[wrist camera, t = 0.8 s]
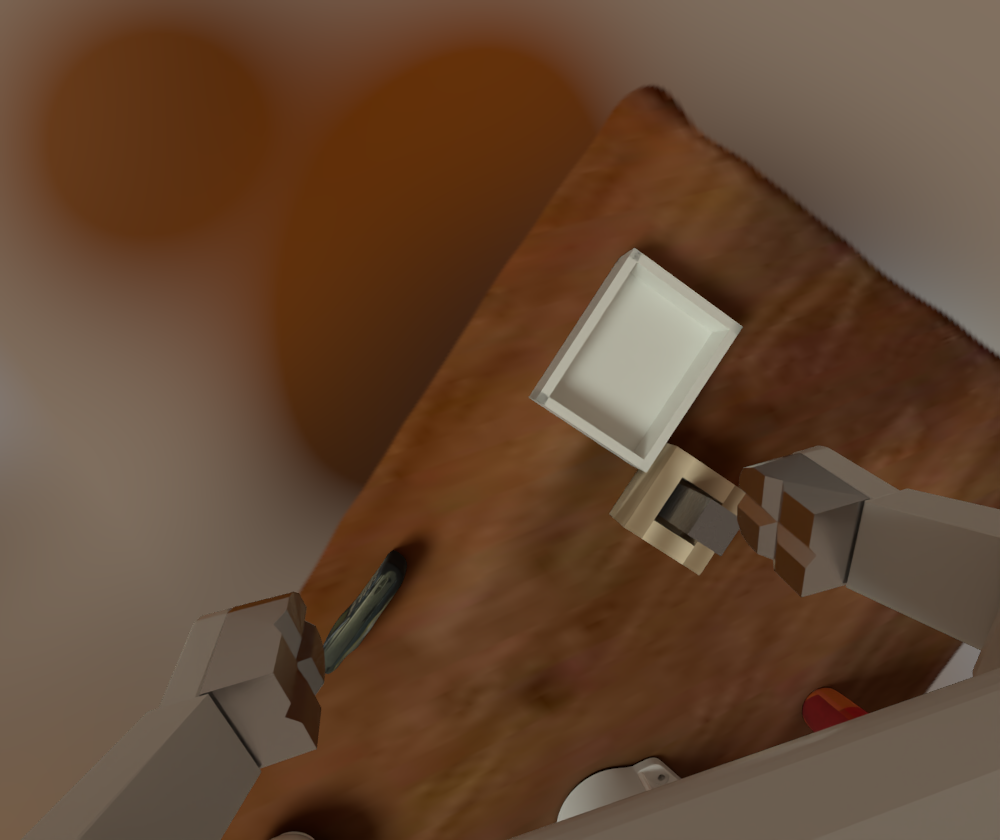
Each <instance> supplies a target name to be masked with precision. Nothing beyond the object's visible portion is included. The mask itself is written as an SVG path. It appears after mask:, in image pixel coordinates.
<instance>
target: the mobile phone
mask: <svg viewBox="0 0 1000 840" xmlns="http://www.w3.org/2000/svg"><path fill="white" fill-rule="evenodd" d="M406 568H407V562H406V560H405V558H404V557H403V556H402V555H401V554H400V553H398V552H397V551H394V550H393V551H391V552H390V553H389V554H388V555H387V557H386V558H385V560H384V561H383V563H382V564H381V566H380V567H379V569H378V570H377V571H376V573H375V574H374V575H373V577H372V578H371V580H370V581H369V582H368V584H367V585H366V587H365V588H364V589H363V591H362V592H361V594H360V595H359V596H358V598H357V599H356V600H355V601H354V602H353V603H352V604H351V606H350V607H349V608H348V609H347V610H346V611H345V612H344V613H343V614H342V615H341V616H340V618H339V619H338V620H337V622H336V623H335V625H334V626H333V628H332V629H331V631H330V633H329V635H328V637H327V639H326V641H325V643H324V645H323V648H324V657H325V673H327V674H329V673H331V672H333V671H334V670H335V669H336V668H337V667H338V666H339V665H340V663H341V662H342V661H343V659H344V658H345V657H346V656H347V655H348V654H349V653H351V652H352V651H353V650H355V649H356V648H357V647H358V646H359V644H360V643H361V642H362V640H363V639H364V637H365V636H366V635H367V634H368V632H369V631H370V630H371V628H372V627H373V625H374V623H375V622H376V620H377V619H378V617H379V616H380V614H381V613H382V612H383V610H384V609H385V608H386V606H387V605H388V603H389V602H390V601H391V599H392V598H393V596H394V595H395V593H396V592H397V590H398V589H399V587H400V586H401V584H402V582H403V579H404V576H405V573H406Z"/></svg>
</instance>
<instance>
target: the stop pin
mask: <svg viewBox="0 0 1000 840" xmlns="http://www.w3.org/2000/svg"><path fill="white" fill-rule="evenodd" d="M658 515H659V516H661V517H662V518H664V519H665V520H667V521H668V522H670V523H671V524H673V525H674V526H676V527H677V528H678V529H680V530H681V531H683V532H684V533H686V534H687V535H689V536H690V537H692V538H693V539H695V540H697V541H698V542H700V543H701V544H703V545H704V546H706V547H707V548H709V549H710V550H712V551H714V552H715V553H717V554H718V555H720V556H721V555H722V554H723V552H724V551H725V549H726V548H727V546H728V545H729V543H730V542H731V540H732V539H733V537H734V536H735V534H736V533H737V531H738V530H739V525H738V522H737V516H736V515H735V514H733V513H732V512H730V511H729V510H727V509H726V508H724V507H723V506H721V505H720V504H718V503H717V502H715V501H714V500H712V499H711V498H708V497H706V496H704V495H702V494H700V493H698V492H696V491H694V490H692V489H690V488H688V487H686V486H683V485H681V484H679V483H678V485H677V486H676V488H675V489H674V491H673V492H672V494H671V495H670V497H669V498H668V500H667V501H666V503H665V504H664V506H663V507H662V509H661V510H660V512H659V513H658Z"/></svg>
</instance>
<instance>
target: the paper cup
mask: <svg viewBox="0 0 1000 840" xmlns="http://www.w3.org/2000/svg"><path fill="white" fill-rule="evenodd" d="M866 714H869V713H867V712H866V711H865V710H863V709H862V708H860V707H859V706H858V705H856V704H855V703H853V702H852V701H851V700H849V699H848V698H846V697H845V696H844V695H842V694H841V693H839V692H838V691H836V690H834V689H832V688H819V689H817V690H815V691H813V692H812V693H811V694H809V695H808V697H807V698H806V700H805V701H804V704H803V708H802V715H803V718H804V720H805V722H806V724H807V725H808V726H809V727H810V728H811V730H812V731H813V732H817V731H820V730H823V729H826V728H829V727H832V726H834V725H837V724H840V723H843V722H846V721H849V720H852V719H854V718H857V717H860V716H863V715H866Z"/></svg>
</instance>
